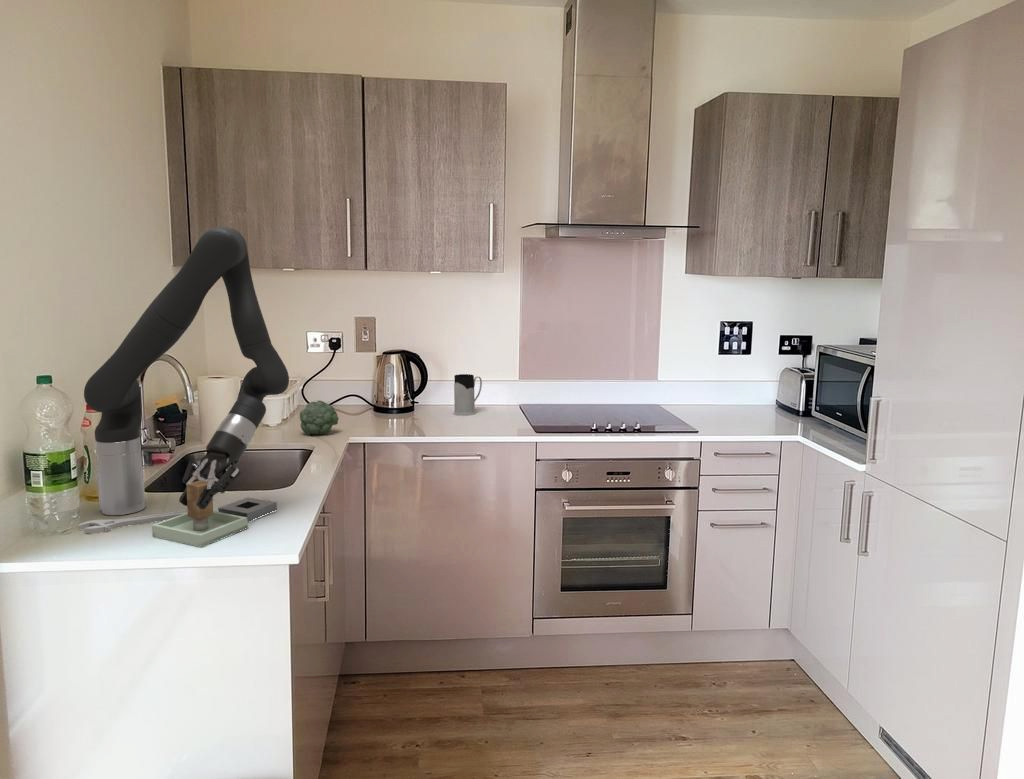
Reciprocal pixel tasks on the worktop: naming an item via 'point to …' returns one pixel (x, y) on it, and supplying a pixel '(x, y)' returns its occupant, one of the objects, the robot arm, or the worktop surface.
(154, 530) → the tray
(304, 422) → the vegetable
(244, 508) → the socket block
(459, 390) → the grey black mug
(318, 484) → the worktop surface
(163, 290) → the robot arm
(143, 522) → the adjustable wrench
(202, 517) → the wooden square peg
